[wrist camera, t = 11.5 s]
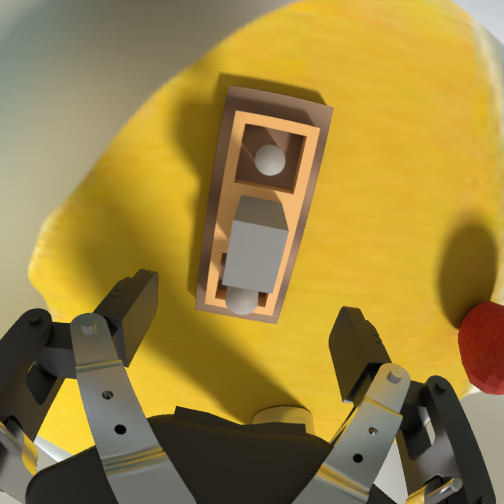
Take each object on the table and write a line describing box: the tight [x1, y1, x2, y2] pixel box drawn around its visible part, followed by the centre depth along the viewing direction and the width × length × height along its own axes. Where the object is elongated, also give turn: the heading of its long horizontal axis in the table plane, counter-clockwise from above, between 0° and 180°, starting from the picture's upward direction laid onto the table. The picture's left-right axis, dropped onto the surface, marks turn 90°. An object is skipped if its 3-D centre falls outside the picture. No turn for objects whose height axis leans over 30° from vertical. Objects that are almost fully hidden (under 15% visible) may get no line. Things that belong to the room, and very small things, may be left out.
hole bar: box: [205, 111, 320, 316], centre depth 19 cm, size 16×6×8 cm, turn 169°
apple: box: [458, 301, 504, 395], centre depth 22 cm, size 10×10×14 cm
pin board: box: [195, 85, 333, 324], centre depth 21 cm, size 20×8×6 cm, turn 169°
